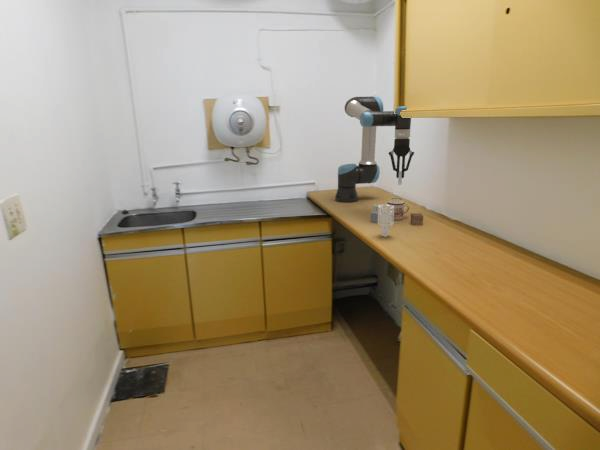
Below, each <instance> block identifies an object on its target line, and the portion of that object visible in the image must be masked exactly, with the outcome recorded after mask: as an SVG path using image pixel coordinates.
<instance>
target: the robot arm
mask: <svg viewBox="0 0 600 450" xmlns="http://www.w3.org/2000/svg"><path fill="white" fill-rule="evenodd" d="M407 106H408V105H404V106H402V105H401V106H396V107H395V110H391V111H390V110H388V111H386V110H385V111H384V102H383V101H382V99H381V98H380V97H379V96H372V95H371V96H354V97H351V98H349V99H348V100H347V101H346V103H345V105H344V112H345V114H346V115H347V116H348V117H351V118H355V119H357V120H359V124H360V126H361V127H362V128H361V129H362V132H361V133H362V135H361V152H360V153H361V159H360V161H359V162H358V165H357V164H356V163H346V164H342V165H340V166H338V169H337V191H336V193H335V196H334V200H335V201H336V202H339V203H354V202H357V201H359V195H358V191H357V189H356V187H357V185H359V184H375V183H377V181H378V180H379V178H380V174H381V173H380V172H381V171H380V166H379V165H378V164H377V161H376V160H375V158H376V141H377V140H376V139H377V127H394V145H393V149H392V150H391V151H389V152H388V155H389V157H390V161H391V166H392V170H393V171H395V172H396V178H397V180H398V181H397V185H398V186H399V185H402V180H403V179H404V178H405V172H407V171H408V170H409V167H410V164H411V161H412V157H413V156H414V155H415V152H414V151H412V150H411V147H410V143H411V142H410V137H411V124H412V117H411V118H402V117H401V115H400V112H401V111H402V110H406V109H407ZM394 111H395V113H396V114H394ZM408 154H409V155H408ZM394 155H395V156H396V162H395V157H394ZM407 155H408V156H409V157H408V160H407V163H406V156H407ZM401 158H402V159H401ZM400 161H402V162H400ZM400 164H401V167H400ZM400 168H401V171H400Z"/></svg>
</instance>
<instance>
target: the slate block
mask: <svg viewBox="0 0 600 450" xmlns="http://www.w3.org/2000/svg"><path fill="white" fill-rule="evenodd" d="M369 221H370V223H373V224H374V223H376V224H378V211H373V210H372V211H371V212H370V218H369Z"/></svg>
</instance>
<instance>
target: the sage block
mask: <svg viewBox="0 0 600 450" xmlns="http://www.w3.org/2000/svg"><path fill="white" fill-rule="evenodd" d="M379 205H383V204H372V212H373V211H378V206H379ZM382 208H386V207H382ZM381 211H383V210H381Z"/></svg>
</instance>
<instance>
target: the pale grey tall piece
mask: <svg viewBox="0 0 600 450" xmlns="http://www.w3.org/2000/svg"><path fill="white" fill-rule="evenodd" d="M382 207H385V208H382ZM381 210H383V211H381ZM391 210H392V211H391ZM394 221H395V220H394V206H392V205H387V204H382V205H379V206H378V223H377V225H378V226H380V227H381V237H382V236H384V237H383V238H388V237H389V227H393V226H394ZM387 236H388V237H387Z"/></svg>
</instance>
